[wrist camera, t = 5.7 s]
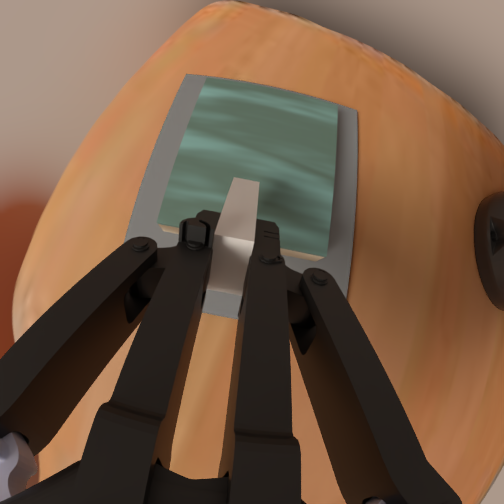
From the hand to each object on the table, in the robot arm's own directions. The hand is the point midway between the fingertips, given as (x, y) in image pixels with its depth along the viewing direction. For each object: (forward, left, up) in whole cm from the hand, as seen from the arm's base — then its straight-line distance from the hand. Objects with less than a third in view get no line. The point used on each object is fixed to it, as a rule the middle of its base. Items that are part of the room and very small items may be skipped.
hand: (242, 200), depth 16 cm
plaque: (+1, +1, -4) cm, 4 cm away
